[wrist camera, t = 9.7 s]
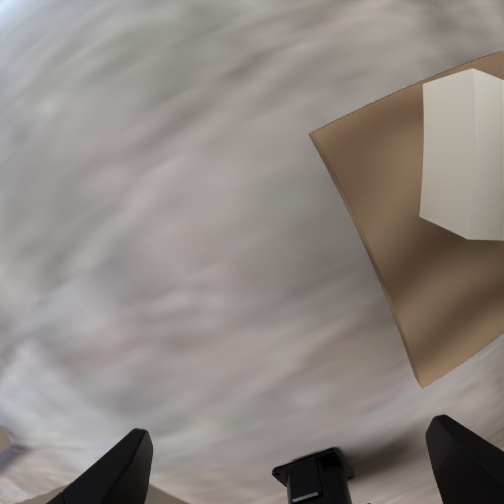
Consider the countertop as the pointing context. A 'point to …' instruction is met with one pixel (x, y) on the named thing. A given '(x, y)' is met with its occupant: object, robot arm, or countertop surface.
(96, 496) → the robot arm
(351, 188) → the base board
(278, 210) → the countertop surface
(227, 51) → the countertop surface
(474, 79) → the white slotted box
